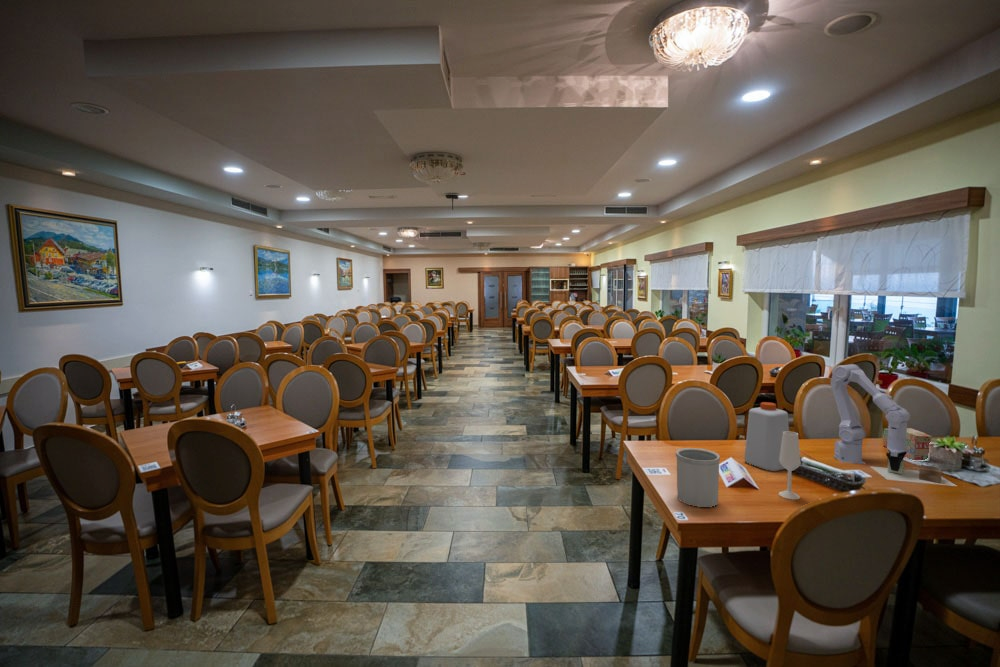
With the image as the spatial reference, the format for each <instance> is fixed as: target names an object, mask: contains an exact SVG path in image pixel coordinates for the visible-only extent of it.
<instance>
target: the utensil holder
mask: <svg viewBox="0 0 1000 667" xmlns="http://www.w3.org/2000/svg"><path fill="white" fill-rule="evenodd" d="M675 457H676V487H677V490H676V491H677V499H678V498H679V499H680V500H681V501H682V503H683V502H684V503H683V504H685V503H687V504H690V505H693V506H692V507H694V506H698V507H697V508H700V507H710V508H713V507H712V506H714V507H716V506H718V505H719V504H718V503H719V483H720V482H719V481H720V480H719V479H720V461H721V456H720V454H718V453H717V452H716V451H713V450H710V449H704V448H695V447H685V448H679V449H677V450H676V451H675ZM679 499H678V500H679ZM680 500H679V501H680ZM681 501H680V502H681ZM687 504H686V505H687ZM690 505H689V506H690ZM715 505H716V506H715Z"/></svg>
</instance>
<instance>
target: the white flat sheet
mask: <svg viewBox="0 0 1000 667" xmlns="http://www.w3.org/2000/svg"><path fill="white" fill-rule="evenodd" d="M869 467H870V468H871V469H872V470H874V471H875V472H876V473H878V474H879V475H881V476H882V478H884V479H886V480H887V481H898V482H899V481H900V482H908V483H919V484H929V485H930V484H931V485H942V486H950V487H951V486H952V487H958V485H956V484H955V483H953V482H952V481H950V480H949V479H946V478H945V477H943V476H941V483H940V484H939V483H934V482H929V481H925V480H920V479H919V470H914V469H905V468H904V472H903V474H899V473H894V472H889V471H887V469H888V467H880V466H869Z"/></svg>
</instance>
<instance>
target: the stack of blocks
mask: <svg viewBox="0 0 1000 667" xmlns="http://www.w3.org/2000/svg"><path fill="white" fill-rule="evenodd" d="M932 438H933V437H932V435H929V434H927V433H925V432H923V431H920V430H917V429H915V428H911V427H907V436H906V449H910V452H907V453H906V454H905V457H904V458H906V457H907V458H906V459H908V458H910V459H912V460H925V459H927V458H928V453H929V443H930V442H931V443H932ZM887 445H888V428H883V447H884V446H885V447H884V448H886V447H887ZM910 459H909V460H910ZM912 460H911V461H912Z"/></svg>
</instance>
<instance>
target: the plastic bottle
mask: <svg viewBox="0 0 1000 667" xmlns="http://www.w3.org/2000/svg"><path fill="white" fill-rule="evenodd" d="M789 426H790V425H789V413H788V412H787V411H785V410H784V409H783V410H782V409H779V408H777V403H774V402H767V401H762V402H760V405H759V407H753V408H750V409H749V410H748V419H747V427H746V428H747V429H746V440H745V449H744V461H745V463H746V462H747V463H746V464H748V463H749V464H748V465H750V464H752V465H751V466H753V465H754V466H753V467H756V466H757V467H756V468H758V467H759V469H761V468H762V470H764V469H765V470H764V471H768V470H769V472H777V471H782V470H785V468H784V467H783V466H782V465H781V463H780V461H779V458H780V451H781V443H782V436H783V432H784V431H790V429H789V428H790V427H789Z"/></svg>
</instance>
